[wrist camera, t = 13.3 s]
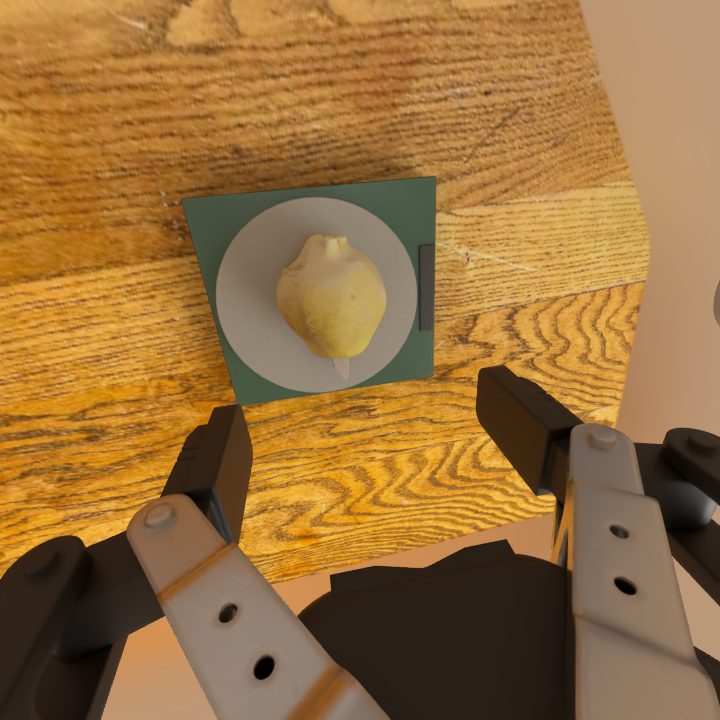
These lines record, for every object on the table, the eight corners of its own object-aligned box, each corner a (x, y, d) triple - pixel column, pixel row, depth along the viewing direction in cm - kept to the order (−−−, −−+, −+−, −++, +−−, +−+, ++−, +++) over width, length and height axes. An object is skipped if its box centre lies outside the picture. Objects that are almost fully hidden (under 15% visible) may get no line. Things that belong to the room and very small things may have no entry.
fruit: (301, 380, 25) (247, 242, 19) (373, 346, 27) (343, 209, 21) (335, 429, 21) (277, 268, 15) (418, 383, 22) (396, 223, 17)
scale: (423, 177, 24) (441, 175, 21) (423, 363, 30) (437, 381, 27) (191, 197, 22) (176, 199, 19) (242, 390, 28) (236, 412, 25)
